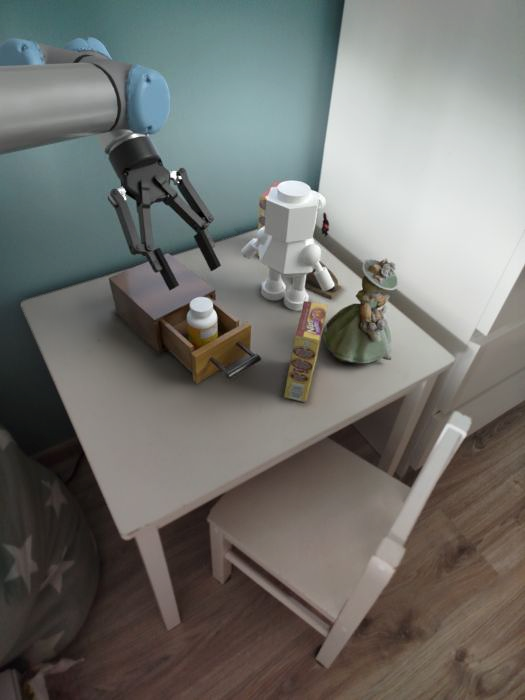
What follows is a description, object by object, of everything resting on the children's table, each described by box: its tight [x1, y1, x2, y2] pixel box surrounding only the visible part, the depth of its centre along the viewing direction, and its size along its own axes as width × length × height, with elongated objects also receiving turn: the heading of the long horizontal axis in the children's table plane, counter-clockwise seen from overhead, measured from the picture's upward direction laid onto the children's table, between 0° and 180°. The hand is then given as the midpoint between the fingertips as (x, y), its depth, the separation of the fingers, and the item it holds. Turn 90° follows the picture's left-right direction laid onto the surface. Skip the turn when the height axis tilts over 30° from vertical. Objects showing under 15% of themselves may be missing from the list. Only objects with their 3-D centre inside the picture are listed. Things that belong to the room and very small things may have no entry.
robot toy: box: [241, 179, 335, 312], centre depth 92 cm, size 22×12×25 cm, turn 58°
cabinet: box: [108, 252, 217, 355], centre depth 91 cm, size 16×14×9 cm
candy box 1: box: [256, 181, 281, 257], centre depth 108 cm, size 9×4×15 cm, turn 154°
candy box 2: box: [283, 301, 328, 403], centre depth 78 cm, size 9×4×15 cm, turn 167°
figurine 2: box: [304, 260, 342, 300], centre depth 102 cm, size 14×4×9 cm, turn 56°
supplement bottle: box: [187, 297, 218, 351], centre depth 83 cm, size 5×5×10 cm
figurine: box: [322, 257, 399, 365], centre depth 83 cm, size 14×14×20 cm
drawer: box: [159, 296, 262, 384], centre depth 84 cm, size 20×12×7 cm, turn 43°
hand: (195, 277), depth 76 cm, fingers open, 8 cm apart
